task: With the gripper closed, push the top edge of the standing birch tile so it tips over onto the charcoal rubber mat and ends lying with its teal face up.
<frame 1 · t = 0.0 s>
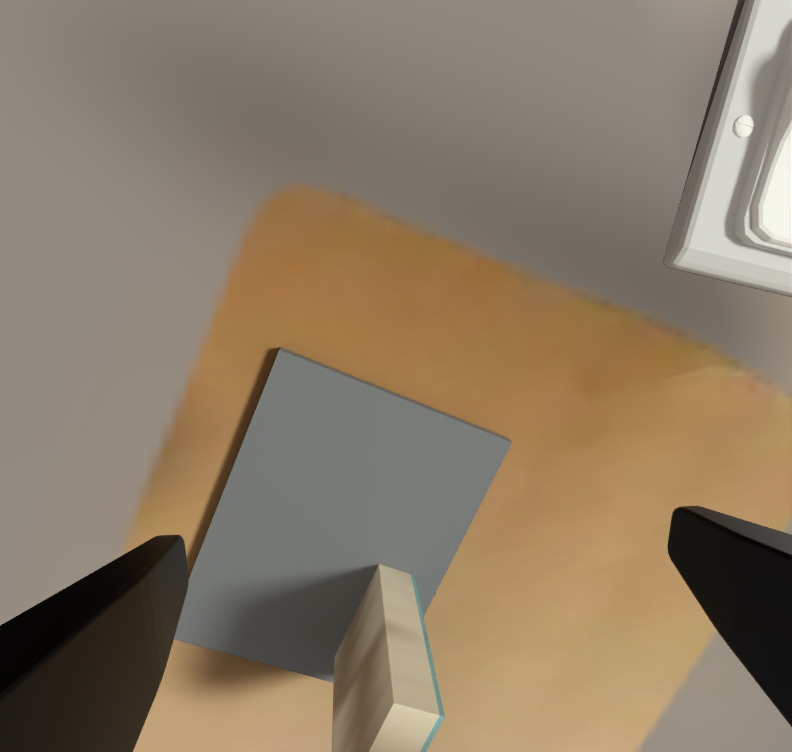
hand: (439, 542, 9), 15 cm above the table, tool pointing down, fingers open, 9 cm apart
mat: (336, 534, 25), on the table
tile: (373, 616, 26), point 1 cm above the table, touching mat
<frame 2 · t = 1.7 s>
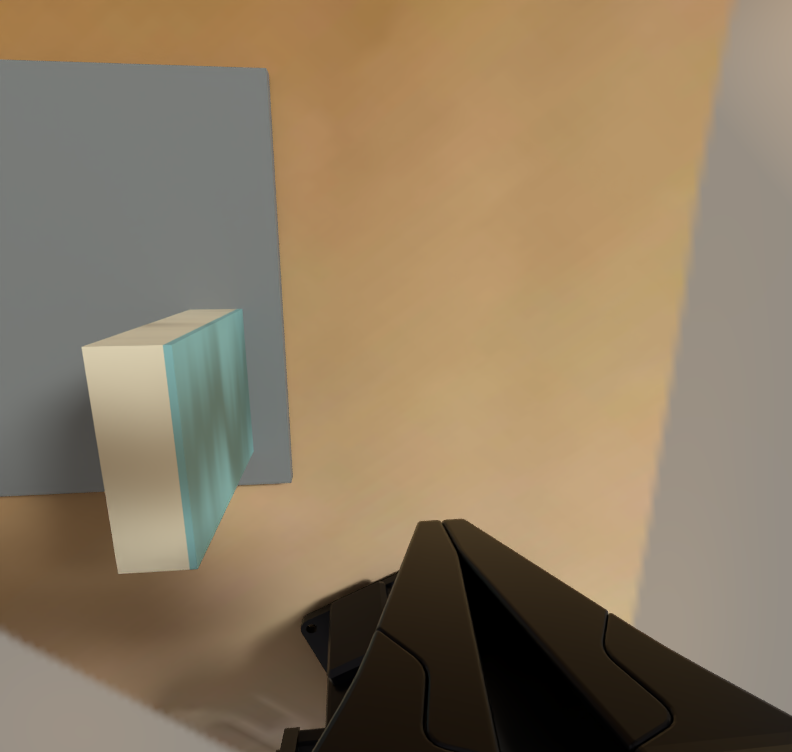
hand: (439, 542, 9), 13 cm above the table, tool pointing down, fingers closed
mat: (127, 296, 19), on the table
tile: (222, 383, 20), point 1 cm above the table, touching mat
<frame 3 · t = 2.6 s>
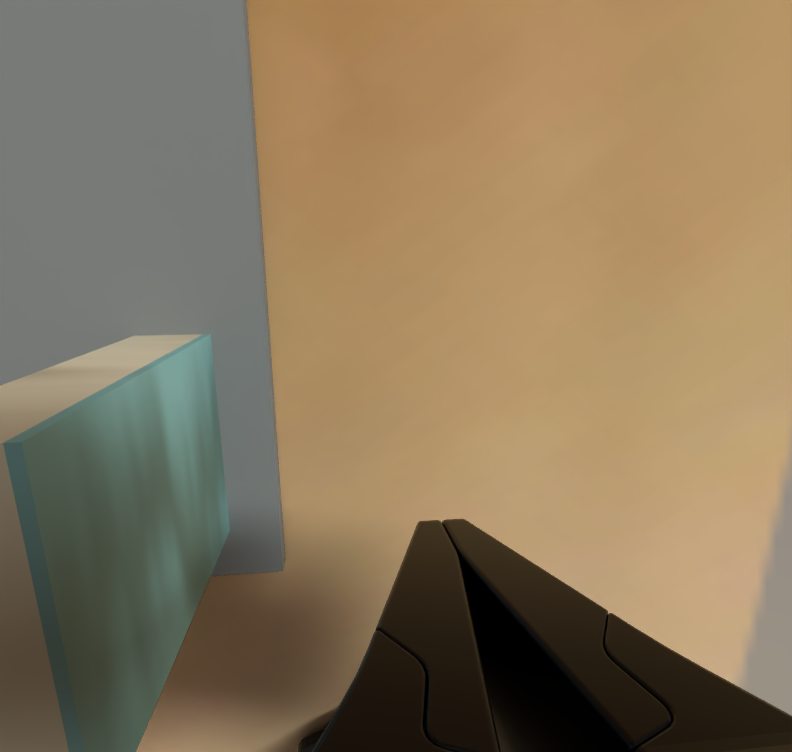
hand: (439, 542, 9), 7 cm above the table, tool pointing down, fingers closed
mat: (45, 317, 13), on the table
tile: (184, 438, 14), point 1 cm above the table, touching mat
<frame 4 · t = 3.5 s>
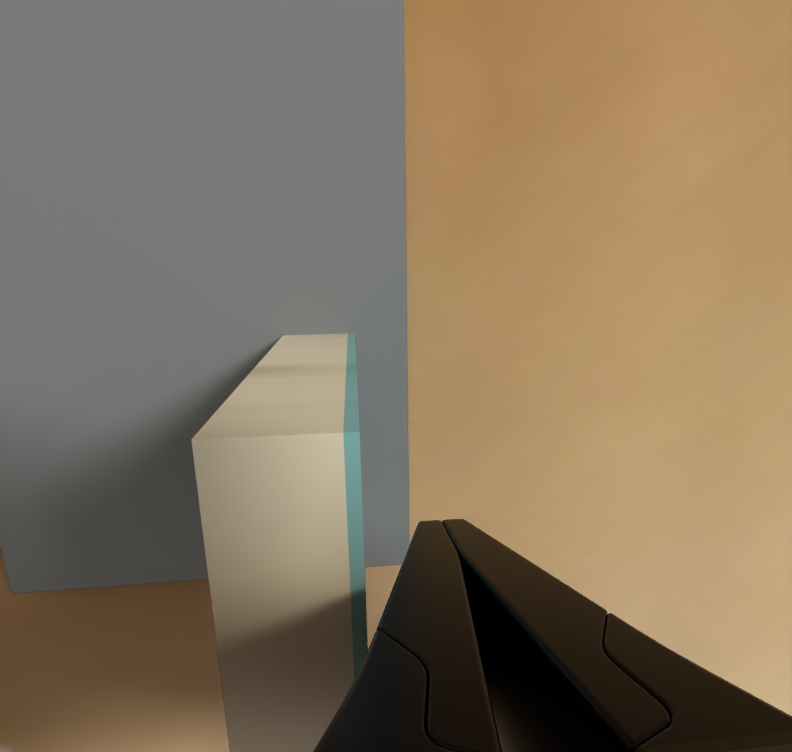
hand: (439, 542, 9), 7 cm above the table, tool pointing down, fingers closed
mat: (194, 318, 14), on the table
tile: (324, 435, 14), point 1 cm above the table, touching gripper, mat
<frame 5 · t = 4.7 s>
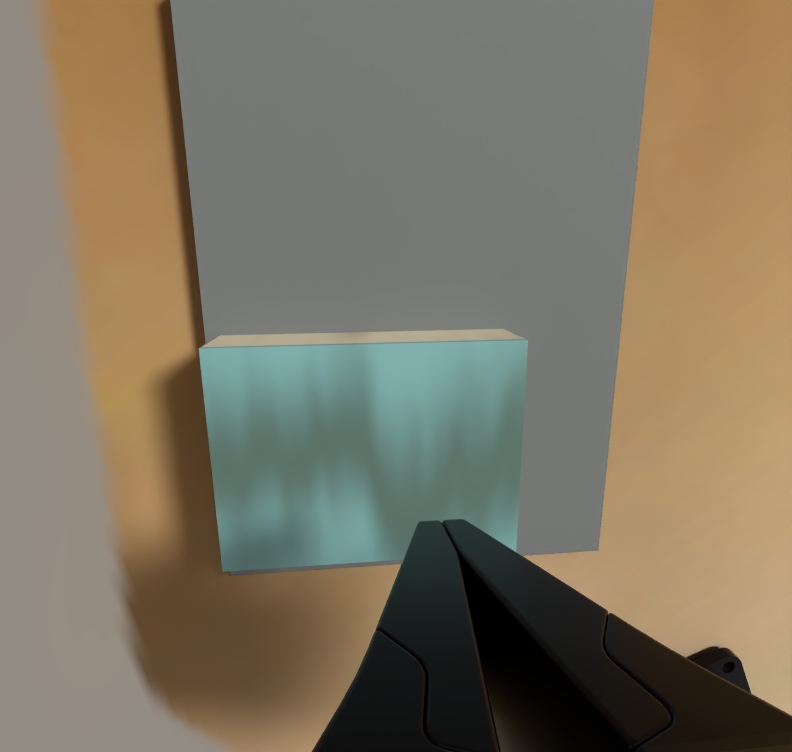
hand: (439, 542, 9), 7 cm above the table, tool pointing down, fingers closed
mat: (418, 312, 14), on the table
tile: (509, 438, 14), point 2 cm above the table, tilted 90°, touching mat
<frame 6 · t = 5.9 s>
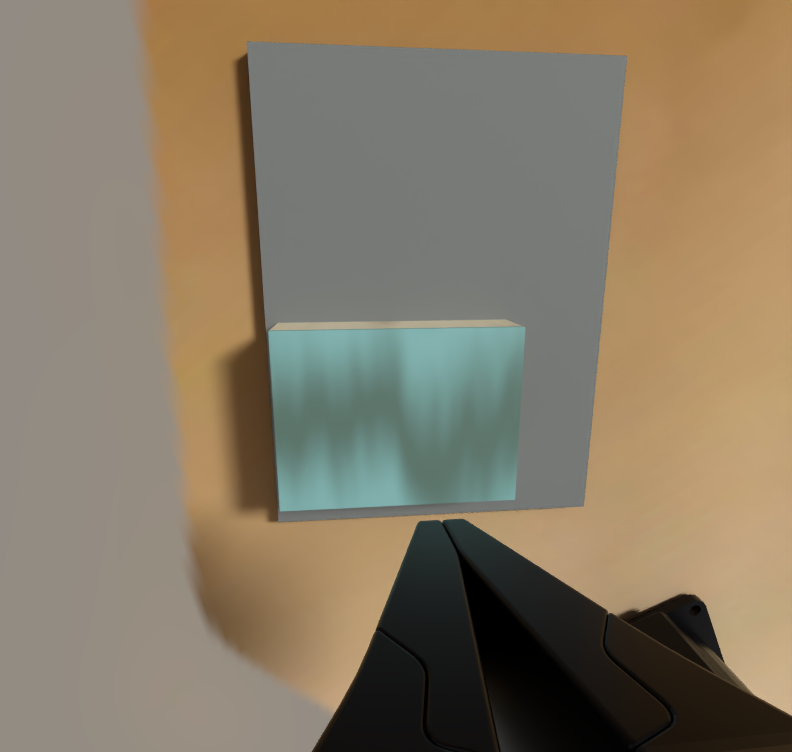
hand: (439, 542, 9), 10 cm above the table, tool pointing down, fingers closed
mat: (436, 305, 18), on the table
tile: (510, 408, 17), point 2 cm above the table, tilted 90°, touching mat
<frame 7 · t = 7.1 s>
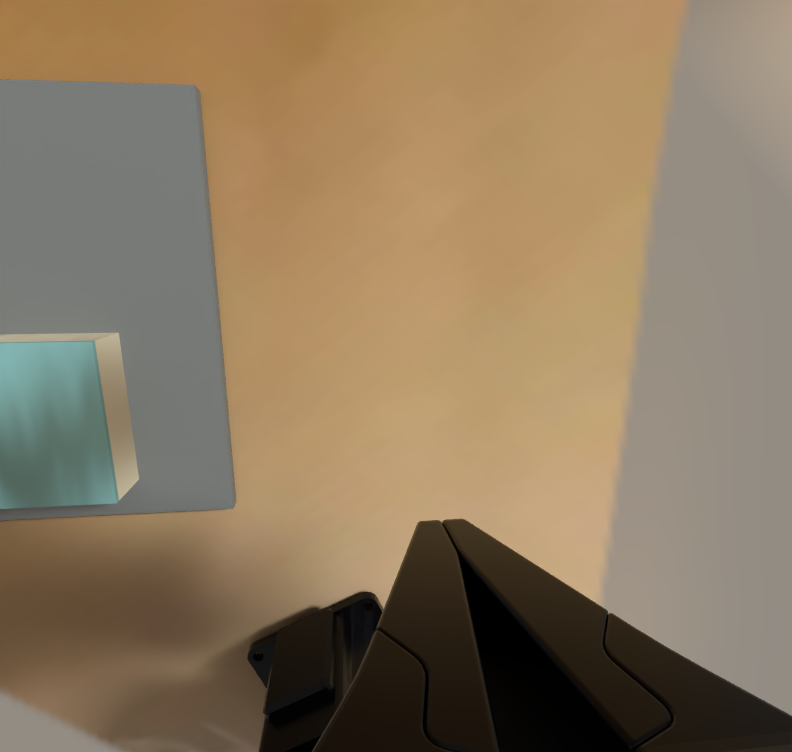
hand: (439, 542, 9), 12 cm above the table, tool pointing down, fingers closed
mat: (57, 319, 19), on the table
tile: (117, 416, 18), point 2 cm above the table, tilted 90°, touching mat
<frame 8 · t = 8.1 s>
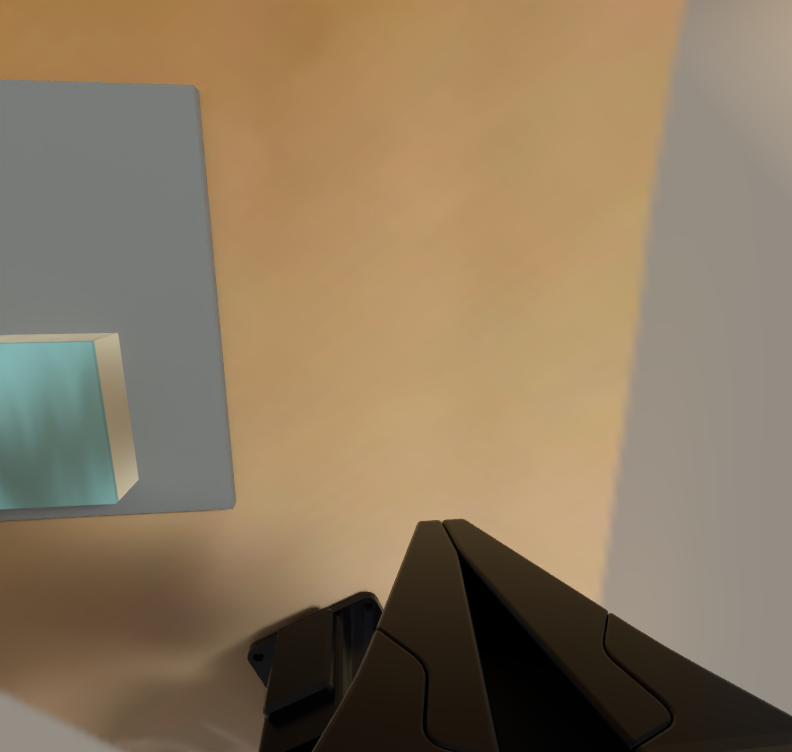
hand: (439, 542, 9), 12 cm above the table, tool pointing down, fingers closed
mat: (57, 319, 19), on the table
tile: (117, 417, 18), point 2 cm above the table, tilted 90°, touching mat
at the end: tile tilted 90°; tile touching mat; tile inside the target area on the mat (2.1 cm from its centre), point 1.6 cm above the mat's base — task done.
